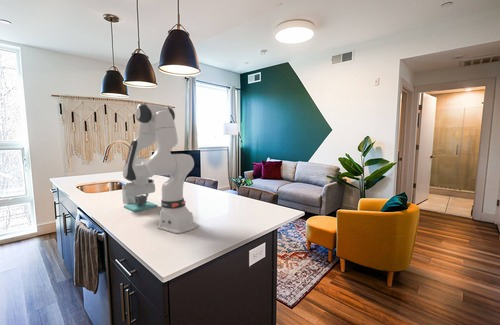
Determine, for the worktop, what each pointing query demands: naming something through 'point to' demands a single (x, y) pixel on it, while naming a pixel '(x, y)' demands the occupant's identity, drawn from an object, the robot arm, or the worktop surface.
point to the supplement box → (127, 198)
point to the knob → (140, 199)
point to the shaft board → (140, 206)
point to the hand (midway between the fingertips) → (140, 201)
